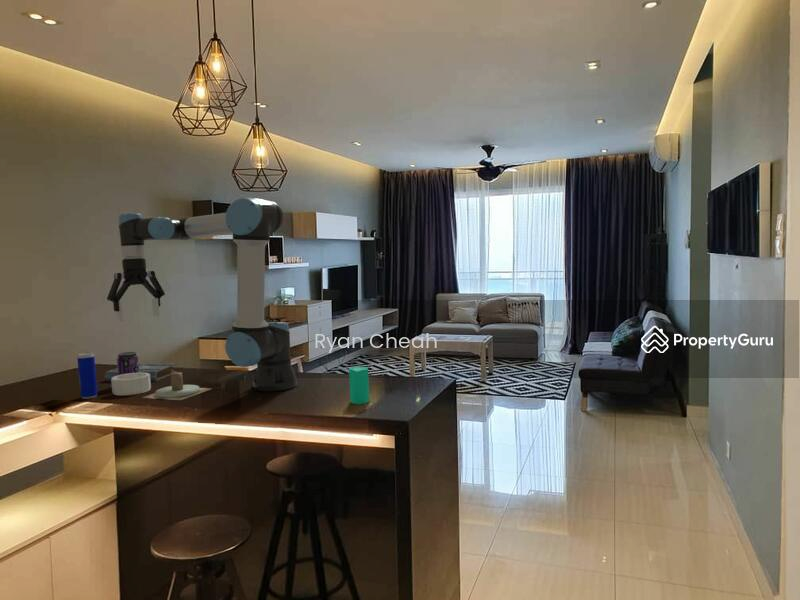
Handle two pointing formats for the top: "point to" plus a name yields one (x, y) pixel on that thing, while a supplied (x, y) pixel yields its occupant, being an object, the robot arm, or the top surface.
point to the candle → (359, 385)
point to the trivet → (178, 397)
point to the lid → (177, 388)
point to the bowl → (131, 383)
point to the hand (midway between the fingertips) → (138, 318)
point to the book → (148, 371)
